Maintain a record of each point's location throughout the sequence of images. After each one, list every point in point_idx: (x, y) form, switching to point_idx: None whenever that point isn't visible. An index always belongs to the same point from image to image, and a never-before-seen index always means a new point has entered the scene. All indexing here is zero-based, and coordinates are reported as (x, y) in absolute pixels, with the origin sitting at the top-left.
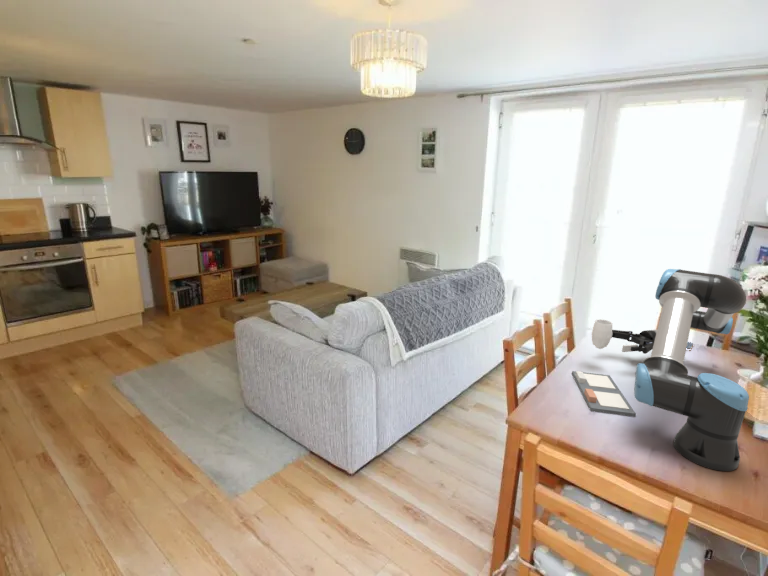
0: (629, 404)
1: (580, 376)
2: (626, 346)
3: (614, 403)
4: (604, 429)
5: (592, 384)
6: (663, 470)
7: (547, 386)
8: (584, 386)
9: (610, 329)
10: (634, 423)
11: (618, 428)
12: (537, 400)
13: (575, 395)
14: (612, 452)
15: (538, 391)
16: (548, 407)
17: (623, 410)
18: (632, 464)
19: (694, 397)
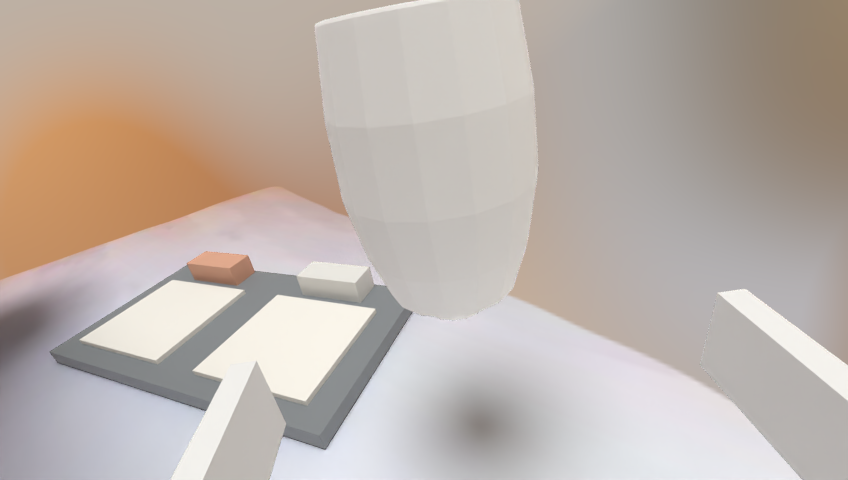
0: (90, 364)
1: (322, 266)
2: (221, 401)
3: (140, 314)
4: (125, 271)
5: (278, 305)
6: None
7: (353, 230)
8: (288, 285)
9: (322, 97)
10: (53, 341)
11: (94, 296)
12: (304, 209)
13: (276, 267)
14: (80, 259)
15: (338, 215)
16: (269, 218)
17: (99, 325)
18: (30, 272)
19: None
